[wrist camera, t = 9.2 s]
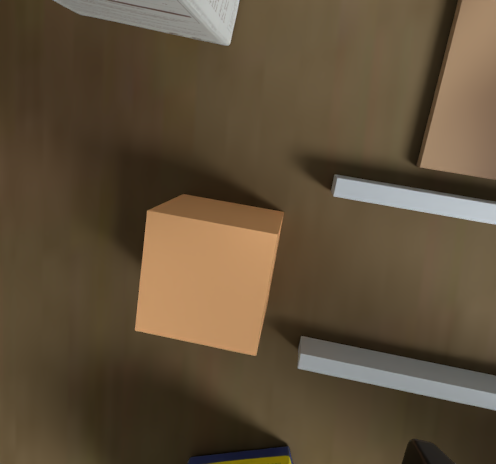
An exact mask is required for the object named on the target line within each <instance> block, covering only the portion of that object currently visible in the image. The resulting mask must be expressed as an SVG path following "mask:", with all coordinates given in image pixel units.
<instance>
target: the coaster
mask: <svg viewBox="0 0 496 464" xmlns="http://www.w3.org/2000/svg"><path fill="white" fill-rule="evenodd" d="M417 167H421V168H427V169H433V170H439V171H446V172H452V173H458V174H464V175H470V176H476V177H482V178H488V179H494V180H496V0H458V3H457V7H456V11H455V15H454V18H453V22H452V26H451V30H450V34H449V38H448V42H447V46H446V50H445V54H444V58H443V62H442V66H441V70H440V74H439V78H438V82H437V86H436V90H435V94H434V98H433V102H432V106H431V110H430V114H429V118H428V122H427V126H426V130H425V134H424V138H423V142H422V146H421V150H420V154H419V158H418V162H417Z"/></svg>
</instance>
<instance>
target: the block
mask: <svg viewBox="0 0 496 464" xmlns="http://www.w3.org/2000/svg"><path fill="white" fill-rule="evenodd" d="M283 214H284V212H282V211H276V210H270V209H265V208H259V207H254V206H248V205H242V204H237V203H231V202H226V201H220V200H214V199H209V198H203V197H198V196H192V195H186V194H182V195H180V196H178V197H176V198H173V199H171V200H169V201H167V202H165V203H163V204H160V205H158V206H156V207H154V208H152V209H149V210H147V217H146V227H145V237H144V247H143V256H142V266H141V276H140V286H139V296H138V305H137V315H136V325H135V331H140V332H144V333H149V334H154V335H159V336H163V337H168V338H173V339H177V340H182V341H187V342H192V343H196V344H201V345H206V346H211V347H215V348H220V349H225V350H230V351H234V352H239V353H244V354H248V355H253V356H256V354H257V350H258V345H259V340H260V336H261V331H262V327H263V322H264V317H265V313H266V308H267V303H268V297H269V292H270V286H271V281H272V275H273V270H274V264H275V259H276V253H277V248H278V242H279V237H280V231H281V225H282V220H283Z"/></svg>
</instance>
